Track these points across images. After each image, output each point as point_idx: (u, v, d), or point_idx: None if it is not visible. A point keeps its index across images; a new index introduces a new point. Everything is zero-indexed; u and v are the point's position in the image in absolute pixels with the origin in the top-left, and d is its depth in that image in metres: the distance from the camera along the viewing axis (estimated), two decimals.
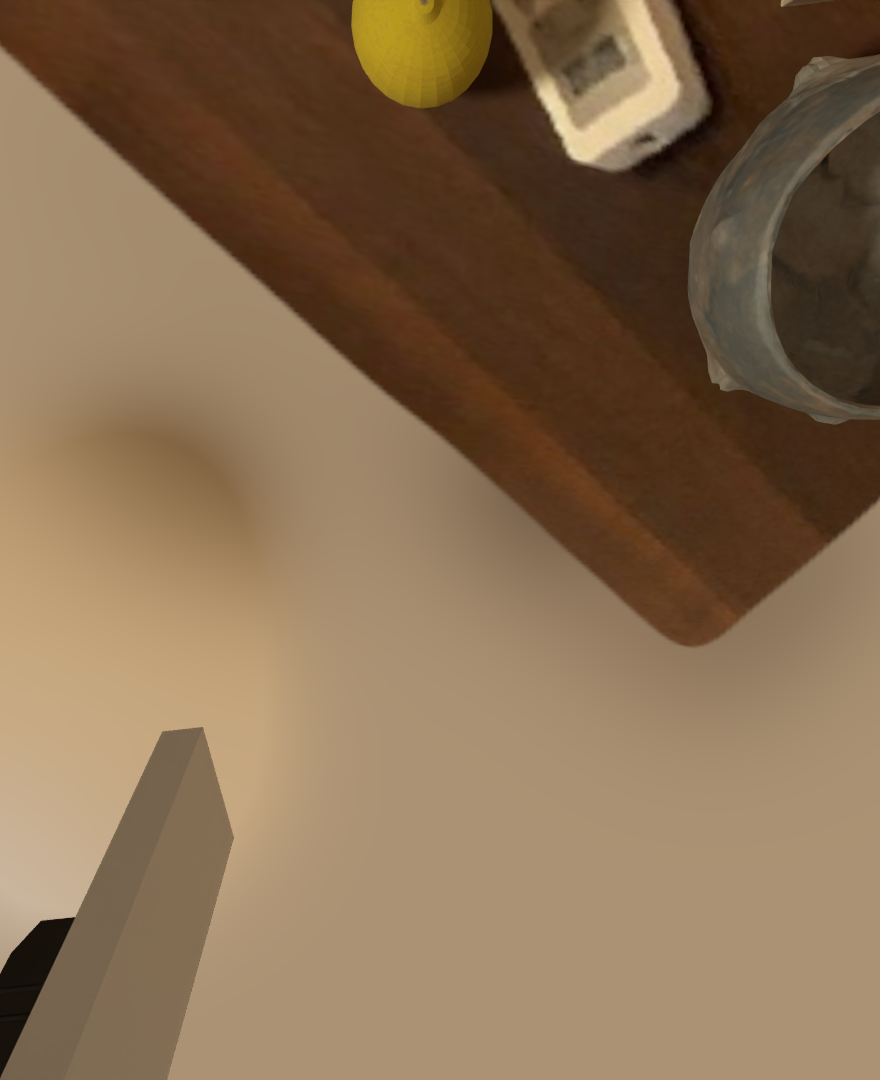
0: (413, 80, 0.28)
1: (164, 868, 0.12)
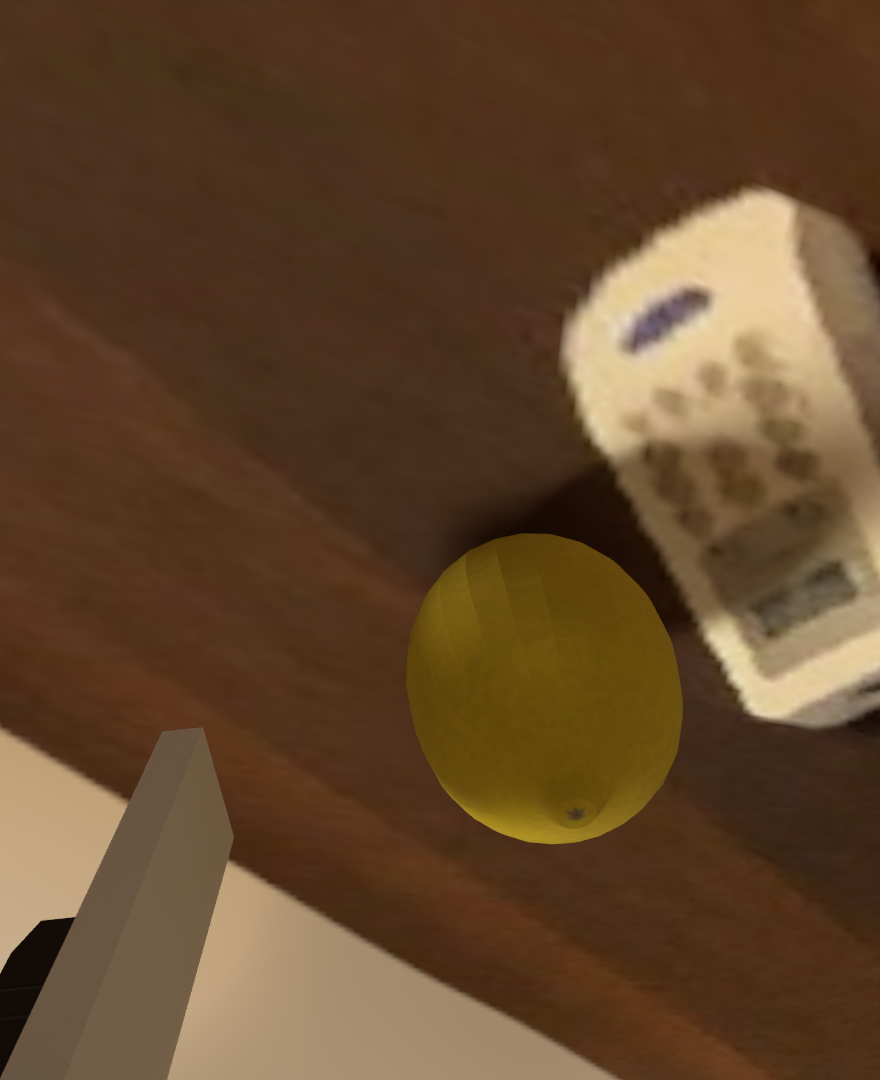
0: None
1: (164, 868, 0.12)
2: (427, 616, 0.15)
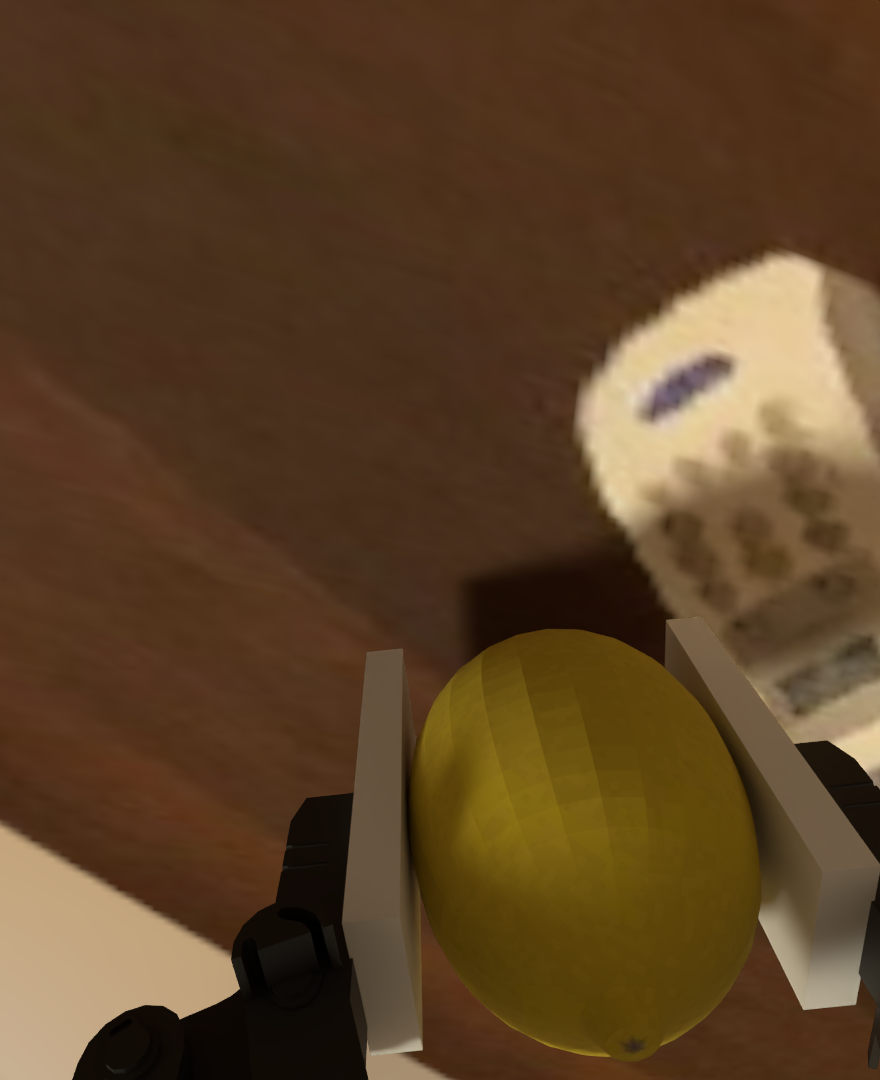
0: None
1: (405, 756, 0.13)
2: (433, 743, 0.12)
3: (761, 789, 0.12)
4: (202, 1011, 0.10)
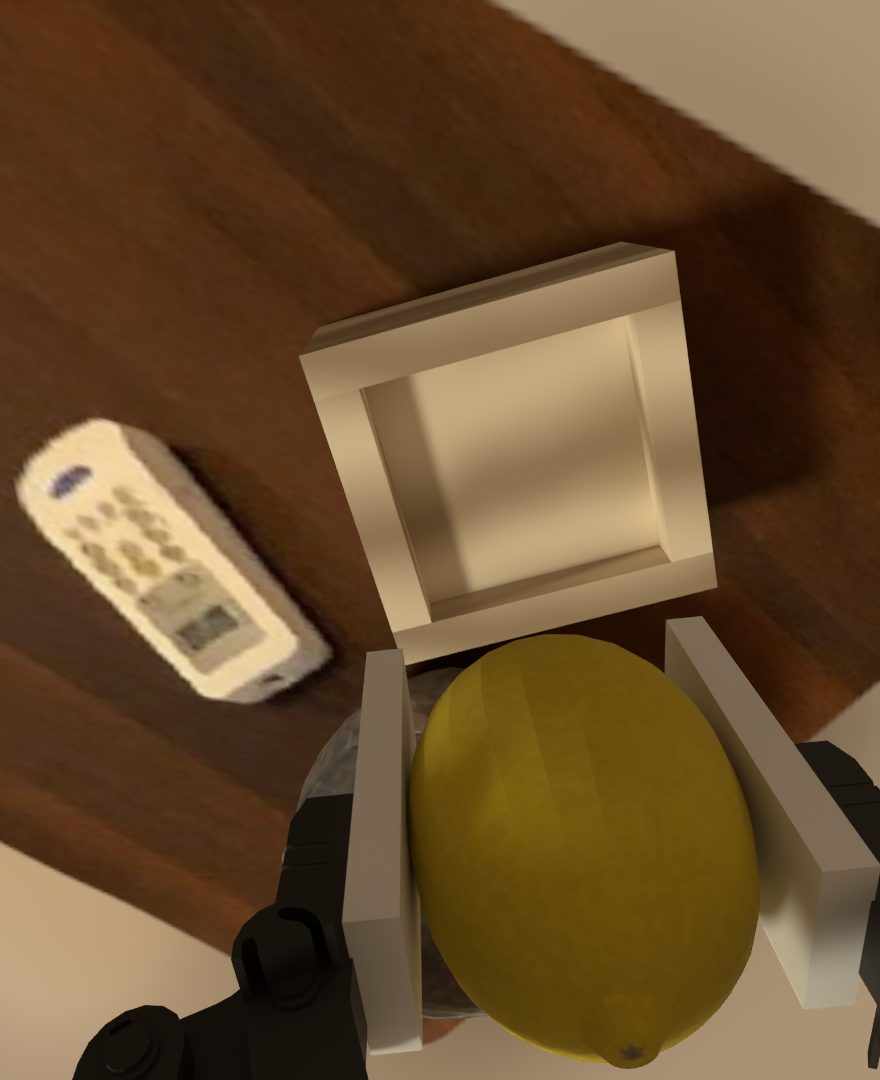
0: None
1: (404, 756, 0.13)
2: (433, 749, 0.12)
3: (761, 789, 0.12)
4: (202, 1011, 0.10)
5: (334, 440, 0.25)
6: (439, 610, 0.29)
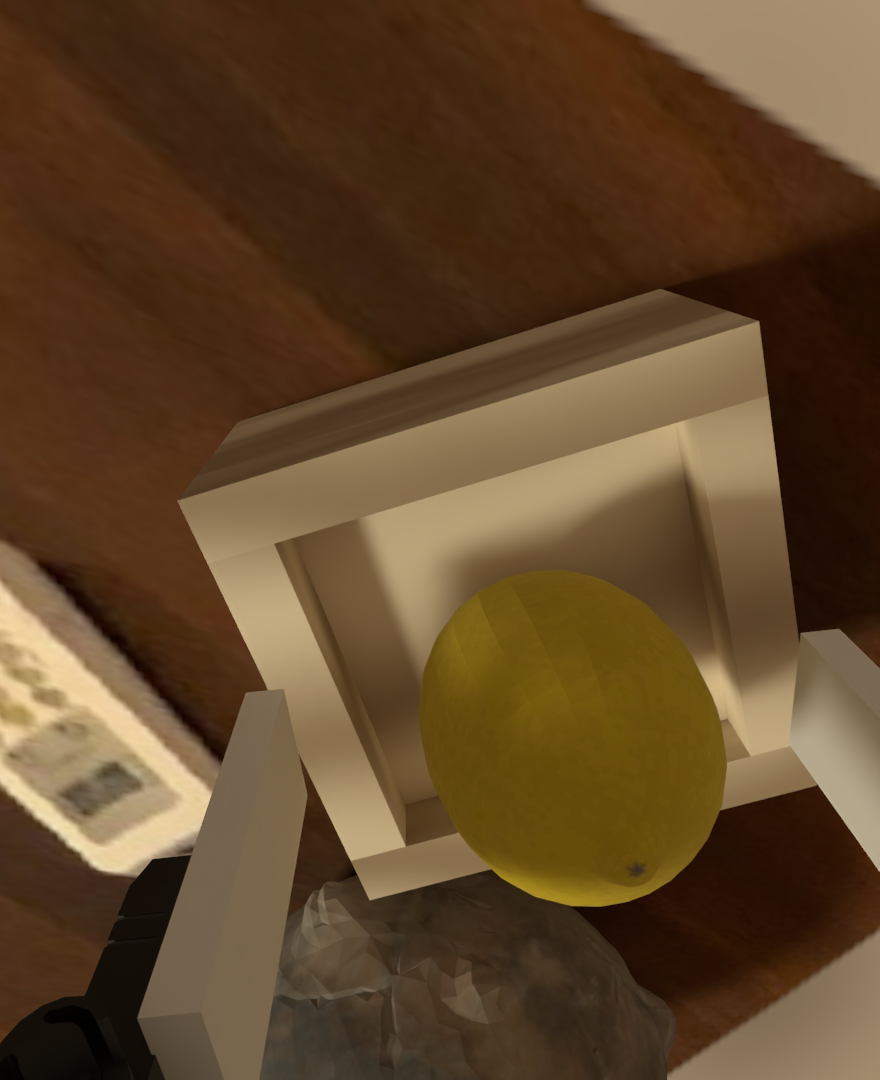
0: None
1: (263, 812, 0.12)
2: (444, 662, 0.14)
3: None
4: None
5: (243, 616, 0.17)
6: (417, 821, 0.20)
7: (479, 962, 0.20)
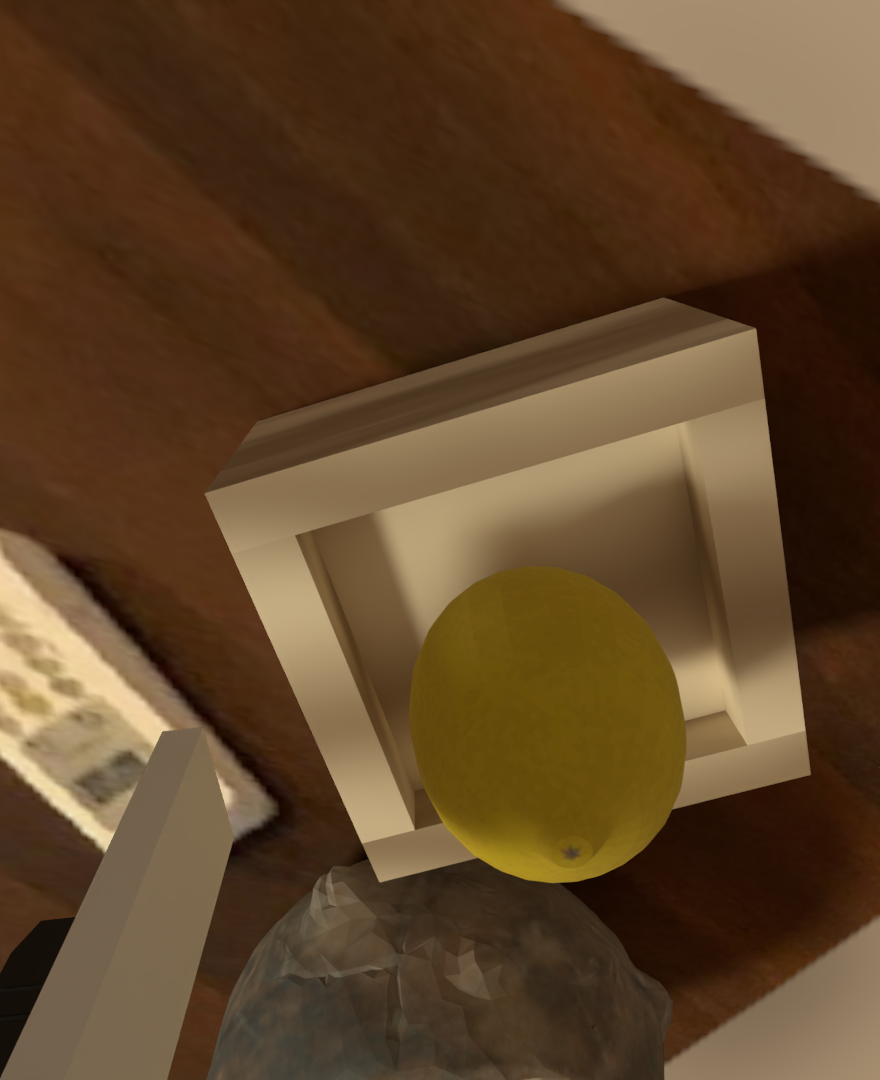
0: None
1: (164, 868, 0.12)
2: (430, 648, 0.15)
3: None
4: None
5: (264, 604, 0.17)
6: (426, 806, 0.21)
7: (482, 941, 0.21)
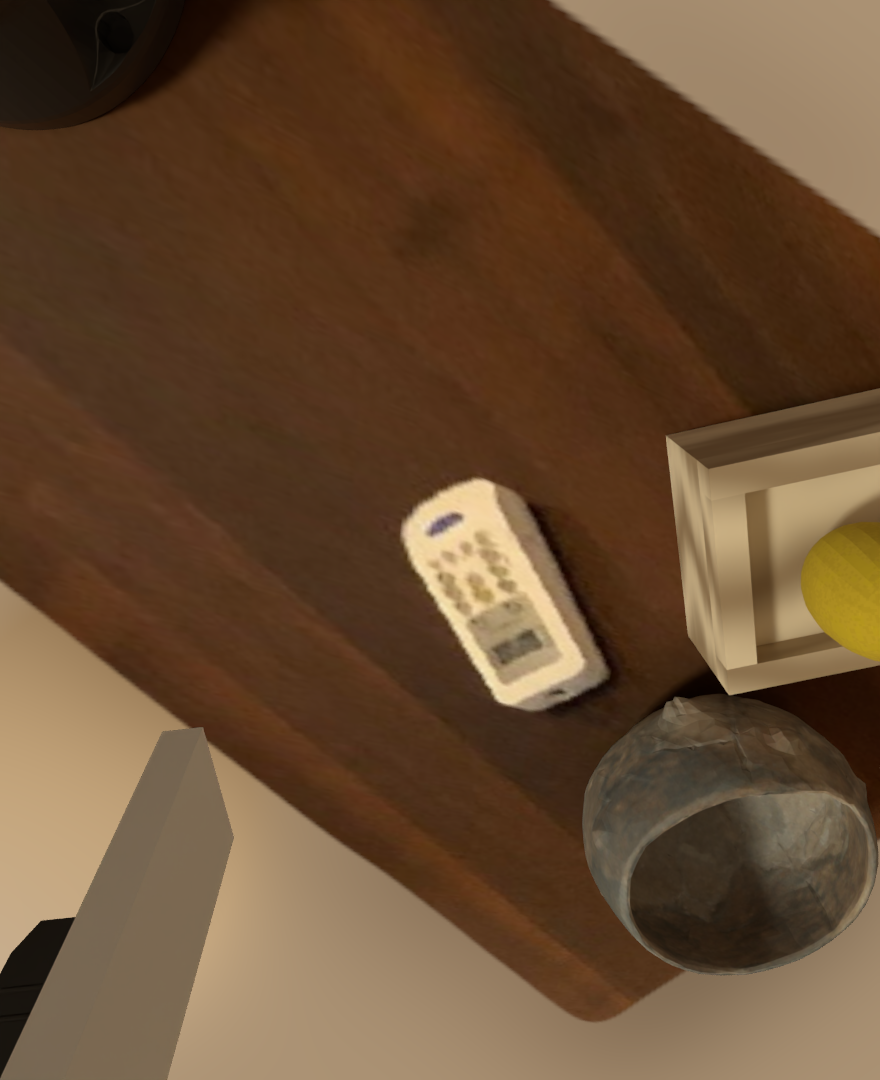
0: None
1: (164, 868, 0.12)
2: (829, 560, 0.32)
3: None
4: None
5: (718, 528, 0.34)
6: (757, 654, 0.38)
7: (782, 729, 0.38)
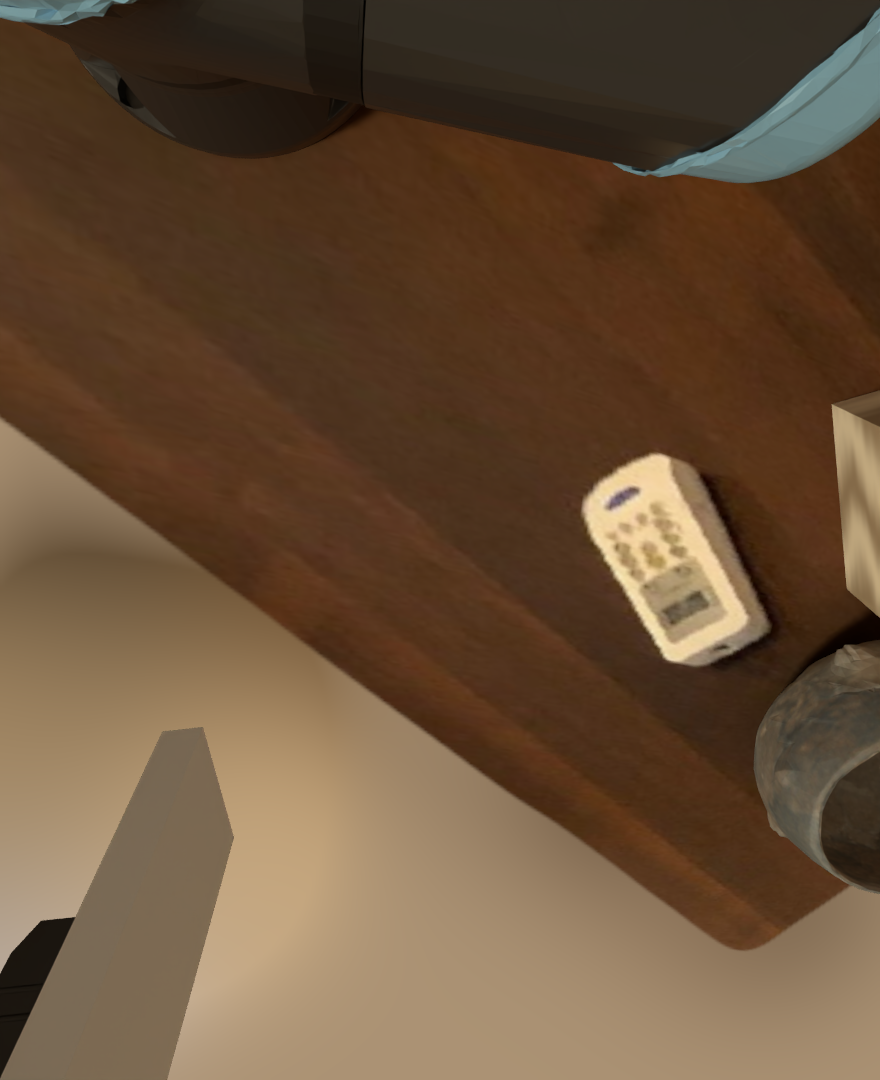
0: None
1: (164, 868, 0.12)
2: None
3: None
4: None
5: None
6: None
7: None
